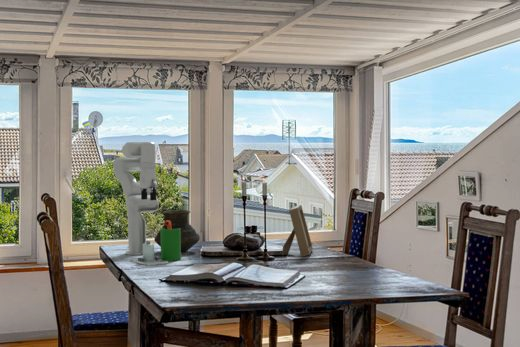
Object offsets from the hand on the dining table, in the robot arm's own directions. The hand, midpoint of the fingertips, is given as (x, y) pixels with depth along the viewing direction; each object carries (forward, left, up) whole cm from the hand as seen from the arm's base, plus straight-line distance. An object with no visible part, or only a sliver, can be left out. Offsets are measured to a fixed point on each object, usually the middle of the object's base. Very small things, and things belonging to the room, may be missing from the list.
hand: (148, 199), depth 348 cm
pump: (+9, -6, -29) cm, 31 cm away
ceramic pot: (-12, +23, -31) cm, 40 cm away
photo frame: (+36, +68, -31) cm, 83 cm away
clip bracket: (+9, -6, -30) cm, 32 cm away
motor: (+9, +7, -31) cm, 33 cm away
